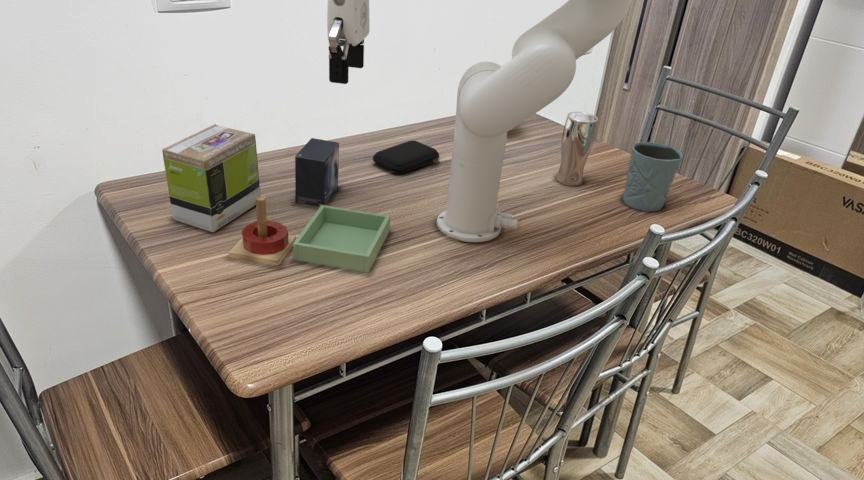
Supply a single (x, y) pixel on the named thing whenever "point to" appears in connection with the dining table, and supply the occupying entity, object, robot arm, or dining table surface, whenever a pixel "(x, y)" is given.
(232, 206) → the tea box
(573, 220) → the dining table surface
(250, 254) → the peg stand
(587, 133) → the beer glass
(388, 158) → the carrying case
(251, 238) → the ring
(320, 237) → the bin
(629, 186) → the grey-green embossed cup
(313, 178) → the small box
